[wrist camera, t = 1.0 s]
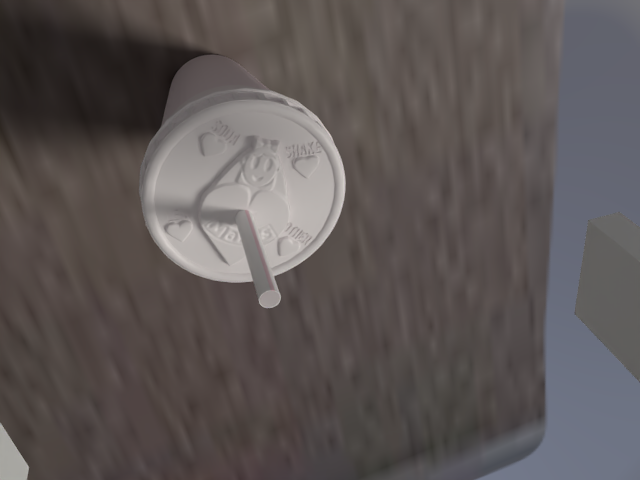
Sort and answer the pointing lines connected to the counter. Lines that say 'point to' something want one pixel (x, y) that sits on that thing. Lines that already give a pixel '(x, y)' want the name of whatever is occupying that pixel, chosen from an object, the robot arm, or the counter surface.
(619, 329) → the robot arm
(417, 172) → the counter surface
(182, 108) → the smoothie
